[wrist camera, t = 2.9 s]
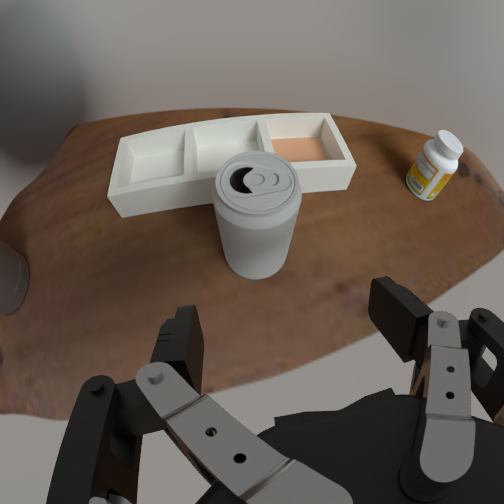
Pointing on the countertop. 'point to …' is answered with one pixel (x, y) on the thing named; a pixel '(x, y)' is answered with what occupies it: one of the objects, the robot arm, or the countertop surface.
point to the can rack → (223, 158)
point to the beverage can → (256, 211)
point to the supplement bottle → (434, 165)
